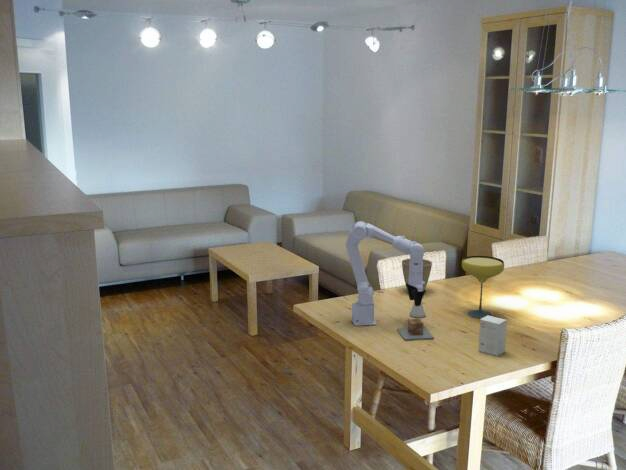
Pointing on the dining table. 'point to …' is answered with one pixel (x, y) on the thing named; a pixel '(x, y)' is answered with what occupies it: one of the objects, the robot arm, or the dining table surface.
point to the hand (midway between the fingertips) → (414, 302)
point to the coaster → (409, 337)
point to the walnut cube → (415, 326)
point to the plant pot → (426, 270)
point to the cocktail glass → (482, 275)
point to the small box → (492, 335)
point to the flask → (417, 311)
